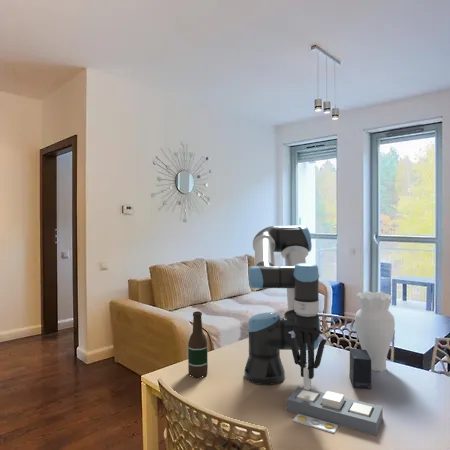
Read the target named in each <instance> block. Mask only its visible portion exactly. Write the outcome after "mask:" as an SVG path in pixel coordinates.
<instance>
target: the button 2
mask: <svg viewBox="0 0 450 450" xmlns="http://www.w3.org/2000/svg"><path fill="white" fill-rule="evenodd" d="M324 393H325V395H324V396H323V397H322V405H323V406H327V407H331V408H335V409H339V410H340V409H341V407H342V406H343V404H344V398H345V394H342V393H340V392H339V393H338V392H334V391H330V390H327V391H326V392H324Z"/></svg>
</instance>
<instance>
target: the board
mask: <svg viewBox="0 0 450 450" xmlns="http://www.w3.org/2000/svg"><path fill="white" fill-rule="evenodd" d="M302 390H305V391H309V392H314V393H318V394H319V398H318V399H317V400H316V401H315V403H312V402H308V401H304V400H300V399H297V396H298V395H299V394H300V392H301V391H302ZM325 393H326V392H323V391H318V390H313V389H309V390H306V389H304V387H301V386H297V388H296V389H295V390H294V391H293V392H292V393H291V394H290V395H289V396H288V397H287V398H286V411H288V412H290V413H295V414H297V415H298V414H301V415H304V416H308V417H311V418H315V419H318V420H322V421H325V422H329V423H333V424H336V425H338V426H342V427H343V428H344V427H345V428H348V429H351V430H355V431H359V432H363V433H365V434H370V435H373V436H377V435H378V432H379V429H380V427H381V424H382V421H383V418H384V417H383V413H384V412H383V406H381V405H376V404H372V403H368V402H364V401H359V400H356V399H352V398H348V397H344V404H343V406H342V407H341V409H340V410H339V409H335V408H331V407H327V406H323V405H322V397H323V396H324V395H325ZM354 402H355V403H359V404H363V405H367V406H371V407H372V415H371V417H370V418H369V417H366V416H362V415H358V414H354V413H350V408H351V407H352V405H353V403H354Z"/></svg>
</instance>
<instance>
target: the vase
mask: <svg viewBox="0 0 450 450" xmlns="http://www.w3.org/2000/svg"><path fill="white" fill-rule="evenodd" d="M355 298H356V300H357V302H358V305H359V307H360V309H358V310H357V312H356V313H355V318H354V326H355V330H356V334H357V337H358V338H357V339H358V340H359V345H360V349H362V350H366V351H367V353H368V354H369V356H370V358H371V371H374V372H383V371H385V370H386V369H387V358H388V354H389V352H390V347H391V343H392V341H393V337H394V334H395V325H396V324H395V317H394V315H393V314H392V313H391V311H389V309H390V306H391V303H392V300H393V297H392V295H391V294H389V293H384V292H383V291H382V292H381V291H376V292H372V291H364V292H360V291H359V292H358V293H357V294H356V295H355Z"/></svg>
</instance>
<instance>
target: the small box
mask: <svg viewBox="0 0 450 450" xmlns="http://www.w3.org/2000/svg"><path fill="white" fill-rule="evenodd" d="M349 379H350V382H351V384H352V388H357V389H367V390H370V389H371V390H372V370H371V358H370V356H369V354H368V353H367V351H366V350H362V348H360V349H359V348H349Z"/></svg>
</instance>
